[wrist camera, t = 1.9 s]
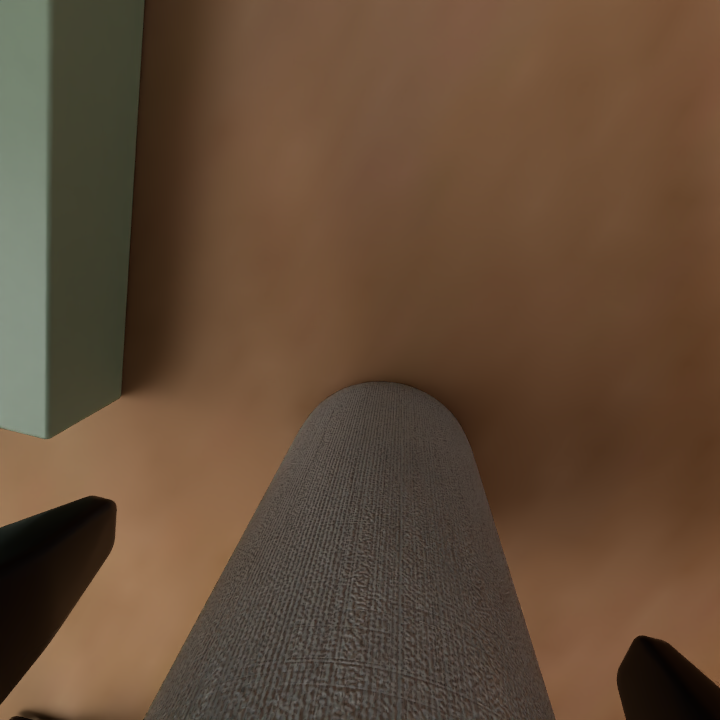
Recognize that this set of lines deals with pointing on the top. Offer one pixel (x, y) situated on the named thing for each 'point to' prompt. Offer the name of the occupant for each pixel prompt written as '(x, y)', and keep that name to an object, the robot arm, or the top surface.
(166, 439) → the top surface
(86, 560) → the robot arm
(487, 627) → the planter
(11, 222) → the green lipped platform
